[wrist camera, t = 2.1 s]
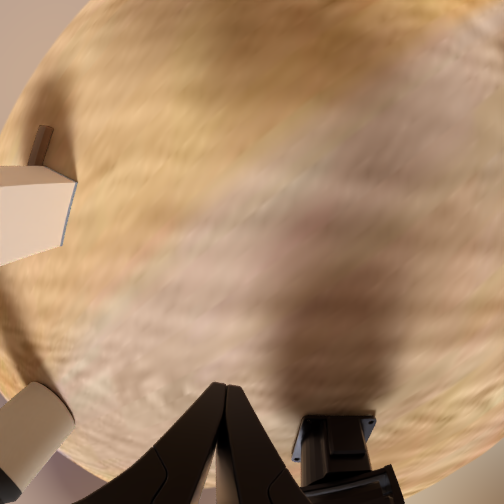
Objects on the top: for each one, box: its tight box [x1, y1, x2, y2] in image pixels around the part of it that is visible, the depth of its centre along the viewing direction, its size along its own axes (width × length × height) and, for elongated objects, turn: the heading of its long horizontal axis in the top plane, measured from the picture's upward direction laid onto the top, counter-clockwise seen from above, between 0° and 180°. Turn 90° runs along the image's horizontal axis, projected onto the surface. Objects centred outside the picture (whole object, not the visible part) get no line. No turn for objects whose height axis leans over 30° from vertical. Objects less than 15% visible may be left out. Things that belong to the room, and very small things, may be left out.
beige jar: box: [0, 382, 75, 504], centre depth 17 cm, size 8×8×18 cm
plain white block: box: [0, 166, 78, 266], centre depth 15 cm, size 4×6×10 cm
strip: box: [27, 125, 54, 166], centre depth 19 cm, size 1×12×1 cm, turn 155°
